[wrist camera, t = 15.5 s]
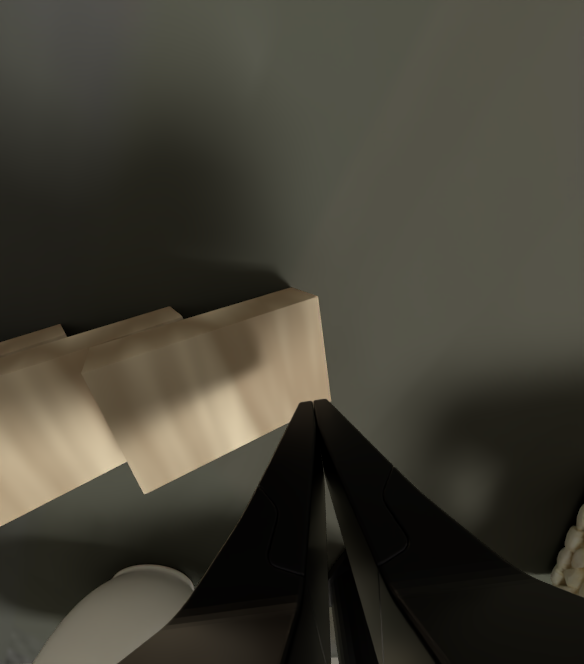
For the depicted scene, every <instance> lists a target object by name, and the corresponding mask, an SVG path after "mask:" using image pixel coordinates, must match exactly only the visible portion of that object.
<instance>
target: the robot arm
mask: <svg viewBox="0 0 584 664" xmlns="http://www.w3.org/2000/svg"><path fill="white" fill-rule="evenodd" d="M313 405H314V406H313ZM321 456H322V457H321ZM322 462H323V463H322ZM323 468H324V471H323ZM324 474H325V478H326V482H327V485H328V489H329V492H330V496H331V499H332V503H333V506H334V510H335V513H336V517H337V520H338V523H339V527H340V530H341V534H342V537H343V541H344V544H345V548H346V551H344V552H343V554H342V555H341V556H340V558H339V559H338V561H337V562H336V563H335V565H334V566H333V567H332V569H331V570H330V571H329V573H328V564H327V536H326V508H325V482H324ZM329 607H332V613H333V621H334V629H335V637H336V645H337V653H338V660H339V664H584V597H581V596H579V595H576V594H573V593H571V592H568V591H566V590H563V589H561V588H558V587H555V586H553V585H550V584H548V583H545V582H542V581H540V580H538V579H536V578H534V577H532V576H530V575H528V574H526V573H524V572H522V571H521V570H519V569H517V568H516V567H514V566H513V565H511V564H510V563H508V562H507V561H505V560H504V559H503V558H501V557H500V556H499V555H497V554H496V553H495V552H493V551H492V550H491V549H490V548H488V547H487V546H486V545H485V544H484V543H482V542H481V541H480V540H479V539H477V538H476V537H475V536H474V535H472V534H471V533H470V532H469V531H467V530H466V529H465V528H464V527H462V526H461V525H460V524H459V523H458V522H456V521H455V520H454V519H453V518H451V517H450V516H449V515H448V514H446V513H445V512H444V511H443V510H441V509H440V508H439V507H438V506H437V505H435V504H434V503H433V502H432V501H431V500H430V499H428V498H427V497H426V496H425V495H424V494H422V493H421V492H420V491H419V490H418V489H417V488H416V487H415V486H414V485H413V484H412V483H411V482H410V481H408V480H407V479H406V478H405V477H404V476H403V475H402V474H401V473H400V472H399V471H398V470H397V469H396V468H395V467H393V465H392V464H391V463H390V462H389V461H388V460H387V459H386V458H385V457H384V456H383V455H382V454H381V453H380V452H379V451H378V450H377V449H376V448H375V447H374V446H373V445H372V444H371V443H370V442H369V441H368V440H367V439H366V438H365V437H364V436H363V435H362V434H361V433H360V432H359V431H358V430H357V429H356V428H355V427H354V426H353V425H352V424H351V423H350V422H349V421H348V420H347V419H346V418H345V417H344V416H343V415H342V414H341V413H340V412H339V411H338V410H337V409H336V408H335V407H334V406H333V405H332V404H331V403H330V402H329V401H328V400H327V399H318V400H314V401H313V402H312V401H304V402H300V403H299V404H298V406H297V408H296V410H295V412H294V414H293V416H292V418H291V420H290V422H289V424H288V426H287V428H286V430H285V432H284V434H283V436H282V438H281V440H280V442H279V444H278V446H277V448H276V450H275V452H274V454H273V456H272V458H271V460H270V462H269V464H268V466H267V468H266V470H265V472H264V474H263V476H262V478H261V480H260V482H259V484H258V487H256V489H255V491H254V493H253V495H252V498H251V499H250V501H249V503H248V505H247V507H246V509H245V511H244V512H243V514H242V516H241V518H240V519H239V521H238V523H237V524H236V526H235V528H234V529H233V531H232V532H231V534H230V536H229V537H228V539H227V540H226V542H225V543H224V545H223V546H222V548H221V550H220V551H219V553H218V554H217V556H216V557H215V559H214V560H213V562H212V563H211V565H210V566H209V568H208V570H207V571H206V573H205V574H204V576H203V577H202V579H201V580H200V582H199V583H198V585H197V586H196V588H195V589H194V591H193V593H192V594H191V595H190V597H189V598H188V600H187V601H186V602H185V604H184V605H183V606H182V608H181V609H180V610H179V611H178V612H177V614H176V615H175V616H174V617H173V618H172V619H171V620H170V621H169V622H168V623H167V624H166V625H165V626H164V627H163V628H162V629H161V630H159V631H158V632H157V633H156V634H154V635H153V636H152V637H150V638H149V639H148V640H147V641H145V642H144V643H143V644H142V645H140V646H139V647H138V648H136V649H135V650H134V651H133V652H131V653H130V654H129V655H128V656H126V657H125V658H124V659H122V660H121V661H120V662H119V663H117V664H331V648H330V620H329Z"/></svg>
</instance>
